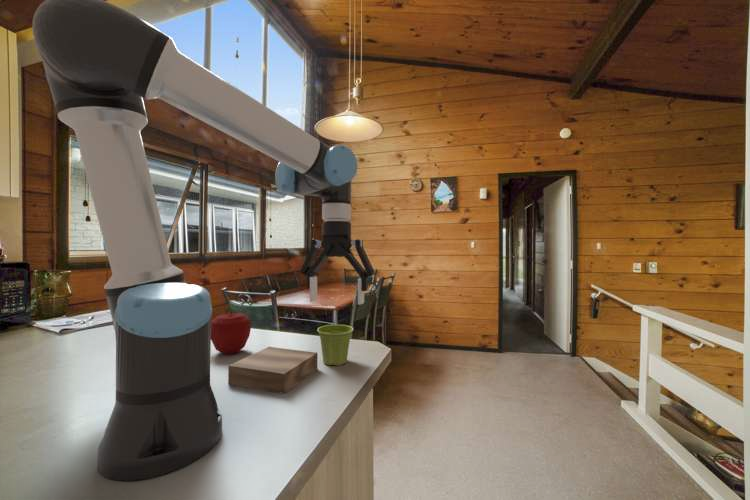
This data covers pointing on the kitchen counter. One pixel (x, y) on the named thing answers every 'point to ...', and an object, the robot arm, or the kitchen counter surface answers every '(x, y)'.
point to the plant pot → (335, 343)
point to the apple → (230, 332)
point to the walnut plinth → (273, 369)
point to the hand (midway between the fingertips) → (336, 302)
